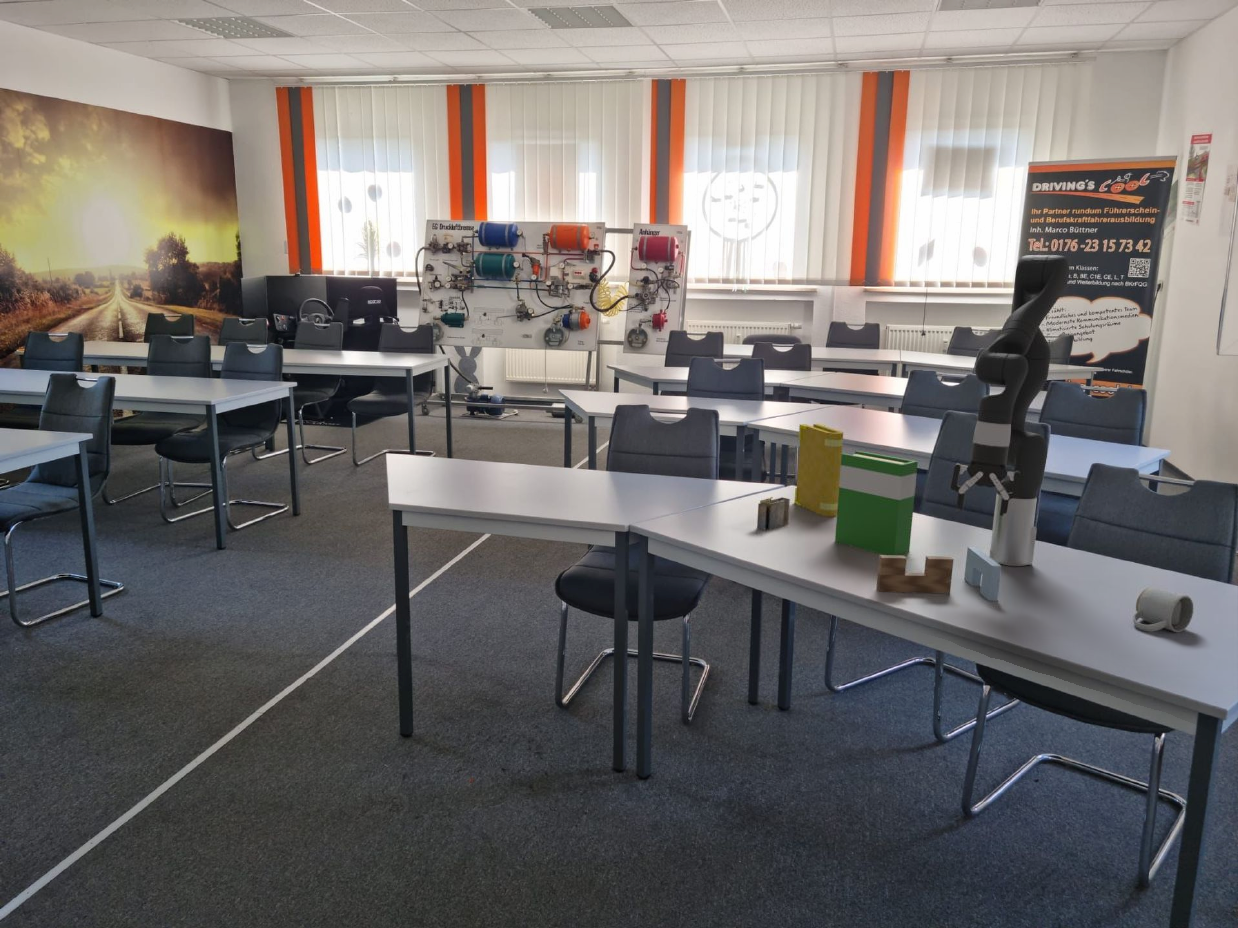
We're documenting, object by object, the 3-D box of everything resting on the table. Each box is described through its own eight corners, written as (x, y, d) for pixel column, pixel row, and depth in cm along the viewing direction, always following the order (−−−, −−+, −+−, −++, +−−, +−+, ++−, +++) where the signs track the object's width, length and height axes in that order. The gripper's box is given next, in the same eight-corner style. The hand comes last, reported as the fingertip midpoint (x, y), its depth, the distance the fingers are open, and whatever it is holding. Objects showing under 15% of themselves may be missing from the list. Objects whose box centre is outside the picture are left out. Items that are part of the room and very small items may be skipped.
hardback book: (834, 541, 236) (841, 453, 231) (850, 536, 241) (857, 450, 236) (894, 557, 224) (902, 465, 219) (909, 551, 229) (917, 461, 224)
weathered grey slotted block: (765, 532, 245) (767, 498, 243) (756, 529, 247) (758, 496, 245) (789, 525, 253) (791, 492, 251) (780, 522, 255) (782, 490, 253)
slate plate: (964, 579, 208) (967, 546, 206) (972, 579, 208) (976, 547, 206) (988, 600, 194) (992, 565, 193) (997, 600, 194) (1001, 566, 193)
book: (794, 503, 277) (799, 424, 271) (813, 501, 279) (818, 423, 273) (822, 517, 261) (828, 433, 256) (842, 515, 263) (848, 433, 258)
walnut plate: (946, 590, 200) (950, 556, 199) (949, 593, 198) (953, 559, 197) (876, 588, 200) (879, 554, 199) (878, 591, 198) (881, 557, 197)
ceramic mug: (1152, 615, 188) (1157, 581, 186) (1191, 629, 181) (1197, 593, 179) (1121, 624, 183) (1125, 589, 181) (1160, 638, 176) (1165, 602, 174)
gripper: (1025, 444, 199) (1015, 514, 202) (958, 436, 204) (949, 504, 207) (1025, 448, 192) (1014, 520, 195) (956, 440, 197) (946, 510, 200)
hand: (981, 512), depth 201 cm, fingers open, 8 cm apart
